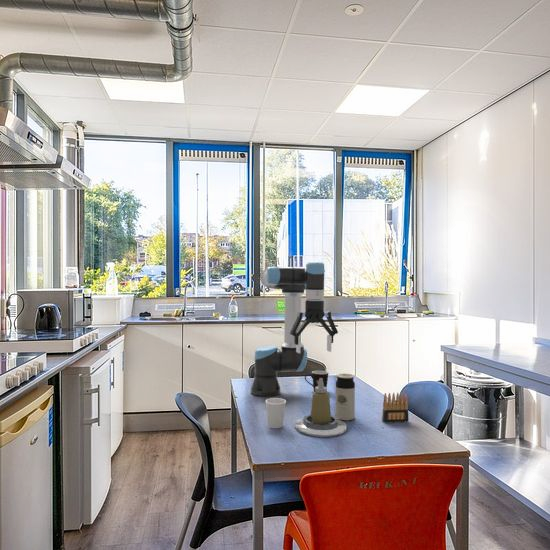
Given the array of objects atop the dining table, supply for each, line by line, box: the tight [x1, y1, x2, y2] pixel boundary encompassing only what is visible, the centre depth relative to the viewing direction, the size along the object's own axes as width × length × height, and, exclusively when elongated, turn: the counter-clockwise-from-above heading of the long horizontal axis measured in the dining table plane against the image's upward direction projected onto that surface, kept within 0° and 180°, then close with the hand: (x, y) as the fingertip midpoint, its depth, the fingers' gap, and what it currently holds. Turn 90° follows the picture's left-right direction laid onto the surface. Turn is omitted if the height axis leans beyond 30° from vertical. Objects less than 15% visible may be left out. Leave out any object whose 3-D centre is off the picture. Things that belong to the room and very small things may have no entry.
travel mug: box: [335, 372, 356, 421], centre depth 185 cm, size 8×8×18 cm
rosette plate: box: [294, 413, 347, 438], centre depth 172 cm, size 20×20×4 cm
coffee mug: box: [304, 370, 329, 393], centre depth 229 cm, size 12×9×10 cm
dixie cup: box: [265, 397, 287, 429], centre depth 174 cm, size 8×8×10 cm
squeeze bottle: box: [310, 378, 332, 424], centre depth 172 cm, size 8×8×18 cm
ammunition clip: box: [381, 392, 410, 423], centre depth 181 cm, size 11×2×12 cm, turn 97°
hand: (313, 351), depth 179 cm, fingers open, 13 cm apart
